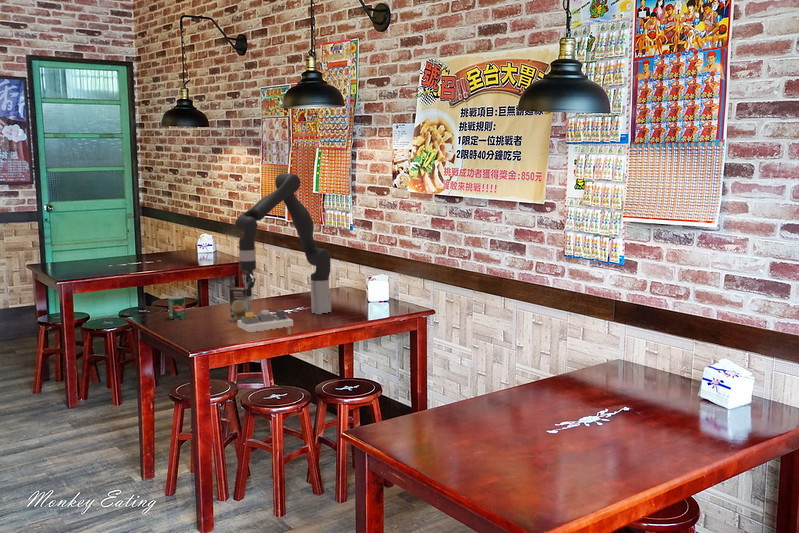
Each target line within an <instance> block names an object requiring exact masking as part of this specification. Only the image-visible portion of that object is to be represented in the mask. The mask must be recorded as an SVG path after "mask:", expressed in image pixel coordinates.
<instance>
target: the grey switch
mask: <svg viewBox="0 0 799 533" xmlns="http://www.w3.org/2000/svg"><path fill="white" fill-rule="evenodd" d="M269 313H270V310H268V309H262V310H260V314H261V316H262V317H263V316H269Z"/></svg>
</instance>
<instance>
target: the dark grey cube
mask: <svg viewBox="0 0 799 533" xmlns="http://www.w3.org/2000/svg"><path fill="white" fill-rule="evenodd" d="M285 312H286V311H285V310H284V309H276V310H275V313H276V314H275V315H276V316H277V317H279V320H280V319H285V315H286V314H285Z"/></svg>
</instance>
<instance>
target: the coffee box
mask: <svg viewBox="0 0 799 533" xmlns="http://www.w3.org/2000/svg"><path fill="white" fill-rule="evenodd" d="M251 297H252V296H250V297H247V296H246V288H245V286H243V287H242V286H241V287H239V286H237V287H235V286H233V287H231V288H230V289H229V312H230V322H235V323H236V322H237V320H241V317H243V316H245V313H246V312H252V299H251Z"/></svg>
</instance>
